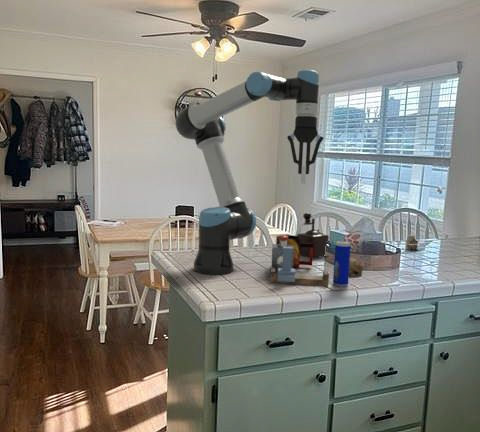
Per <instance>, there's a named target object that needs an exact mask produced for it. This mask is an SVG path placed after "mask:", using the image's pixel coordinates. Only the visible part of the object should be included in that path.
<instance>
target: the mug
mask: <svg viewBox="0 0 480 432" xmlns="http://www.w3.org/2000/svg"><path fill="white" fill-rule="evenodd" d="M285 235H286V236H288V239H287V245H294V259H293V269H295V270H297V269H300V266H313V259H314V258H313V256H312V255H313V243H301V237H299V236H297V235H289V234H285ZM275 239H276V240H275V241H276V243H275V244H280V239H279V235H277V236H276V238H275ZM300 247H309V248H310V257H309V260H300V259H301V258H300V257H301V255H300Z"/></svg>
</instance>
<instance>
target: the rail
mask: <svg viewBox="0 0 480 432" xmlns="http://www.w3.org/2000/svg"><path fill="white" fill-rule="evenodd" d="M329 279H330V273H329V271H328V270H322V275H314V274H298V273H297V274H296V273H295V282H287V281H278V273H275V268H271V267H270V280H269V281H270V283H271V284H288V285H289V284H290V285H292V284H293V285H307V286H325V287H328V286H329V281H330V280H329Z"/></svg>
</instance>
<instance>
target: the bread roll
mask: <svg viewBox="0 0 480 432" xmlns="http://www.w3.org/2000/svg"><path fill="white" fill-rule="evenodd" d="M362 273H363V266H362V265H361V263H360V262H359V260H357V259H355V258H353V257H350V262H349V277H355V276H357V277H358V276H360V275H362Z"/></svg>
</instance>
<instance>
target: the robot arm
mask: <svg viewBox="0 0 480 432" xmlns="http://www.w3.org/2000/svg"><path fill="white" fill-rule="evenodd" d="M319 88H320V75H319V72H318V71H316V70H313V69H312V70H311V69H304V70H303V69H302V70H299V71H297V76H296V77H289V78H287V77H285V78H283V77H279V76H276V75H272V74H269V73H266V72H265V71H264V72H263V71H261V72H260V71H254V72H252V73H250V74H249V76H248V77H247V78H246V80H245V81H244V82H242V83H239V84H237V85H235V86H233V87H232V88H230V89H227V90H225V91H223V92H222V93H219V94H217V95H215V96H213V97H210V98H209V99H207V100H206V101H203V102H202V103H199V104H194V103H193V104H190V105H189V106H187V107H185V108H184V109H181V111H180V112H178V114H177V116H176V119H175V127H176V131H177V132H178V133H179V135H180V136H181V137H183V138H184V139H188V140H194V141H195V144H196V147H197V149H199V150H201V152H202V154H203V157H204V161H205V164H206V167H207V169H208V173H209V177H210V180H211V181H212V182H211V183H212V186H213V189H214V192H215V195H216V198H217V199H216V200H217V201H218V205H219V206H216V207H208V208H204V209H202V210H201V211H200V212H199V219H198V251H197V253H196V256H195V259H194V262H193V271H194V272H196V273H200V274H205V275H223V274H229V273H232V272H234V262H233V259H232V255H231V251H230V245H231V244H230V243H231V242H230V241H231V240H235V239H243V238H246V237H248V236H249V235H252V233H253V232H254V230H255V228H256V226H257V224H256V223H257V217H256V214H255V213H254V211H253V210H252V209H250V208H248V207H247V204H246V202H245V200H244V199H241V198H240V195H239V191H238V189H237V186H236V183H235V181H234V177H233V174H232V173H233V172H232V170H231V167H230V164H229V160H228V158H227V155H226V152H225V149H224V146H223V143H224V141H225V137H224V136H225V134H226V132H225V131H226V128H227V127H226V123H225V120H224V119H223V117H224V116H226V115H228V114H230V113H232V112H235V111H238V110H239V109H241V108H244V107H245V106H248V105H249V104H252V103H254V102H257V101H259V100H261V99H263V98H267V99H268V100H270V101H274V102H275V101H278V102H281V101H291V100H294V101H296V102H295V103H296V104H295V115H296V117H295V121H294V130H293V133H291V134H290V135H287V136H286V137H287V140H288V142H289V143H290V150H291V155H292V156H291V157H292V161H293V163H294V164H297V166H298V167H297V168H298V169H297V173H298V175H300V184H306V175H309V174H310V166H311V165H312V164H315V162H316V159H317V155H318V152H319V149H320V147H321V144H322V142H323V140H324V136H321V135H320V134H319V132H318V130H317V125H318V118H317V116H318V110H319V109H318V106H319V102H318V100H319ZM295 138H296V140H297V142H298V143H299V144H298V146H299V147H298V148H299V149H298V159H297V154H296V148H295V143H294V140H295ZM315 138H316V140H315ZM314 140H315V141H316V143H315V147H314V150H313V154H312V157H311V143H312V142H313V141H314ZM304 143H305V144H306V152H305V155H306V156H305V164H303V156H304V155H303V154H304V151H303V150H304Z"/></svg>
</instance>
